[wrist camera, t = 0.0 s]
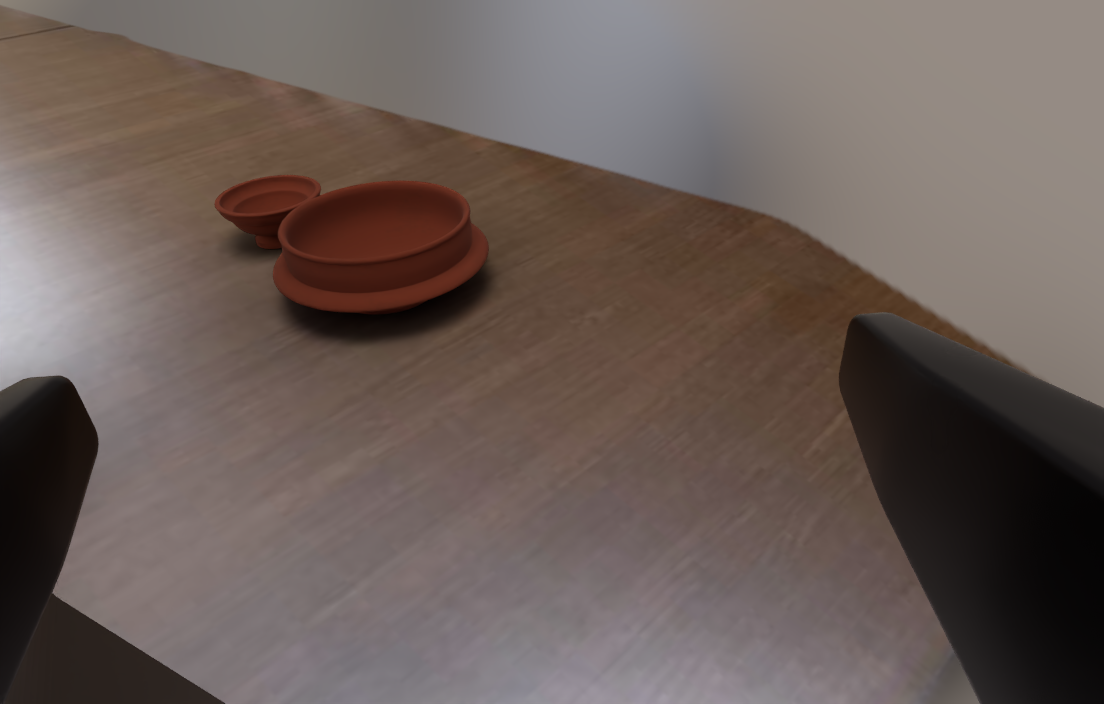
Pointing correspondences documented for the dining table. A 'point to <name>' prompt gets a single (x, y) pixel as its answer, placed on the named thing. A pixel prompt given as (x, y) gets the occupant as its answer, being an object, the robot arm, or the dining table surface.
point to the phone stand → (93, 667)
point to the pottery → (359, 240)
